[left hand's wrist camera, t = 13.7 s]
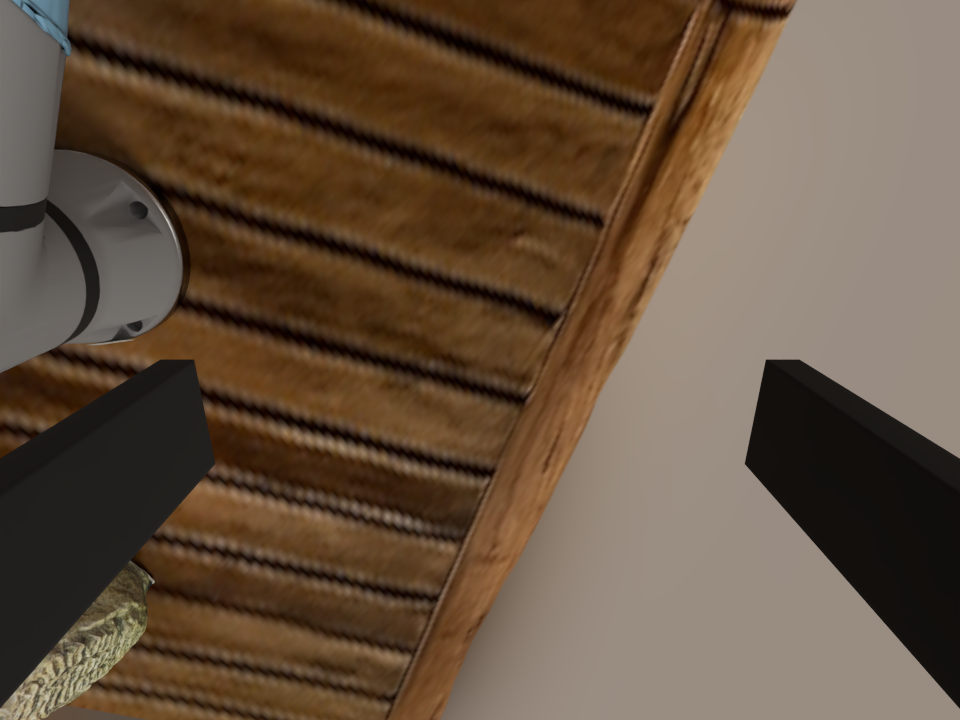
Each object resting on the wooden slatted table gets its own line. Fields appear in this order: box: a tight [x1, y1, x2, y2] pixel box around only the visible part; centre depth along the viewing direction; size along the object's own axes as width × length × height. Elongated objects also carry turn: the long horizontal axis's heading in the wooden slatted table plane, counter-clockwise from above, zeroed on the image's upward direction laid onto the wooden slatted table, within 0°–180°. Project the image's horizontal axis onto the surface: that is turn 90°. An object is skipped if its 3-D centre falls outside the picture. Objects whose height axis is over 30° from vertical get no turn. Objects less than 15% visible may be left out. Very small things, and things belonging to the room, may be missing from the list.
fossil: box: [0, 560, 155, 720], centre depth 48 cm, size 9×18×15 cm, turn 65°
